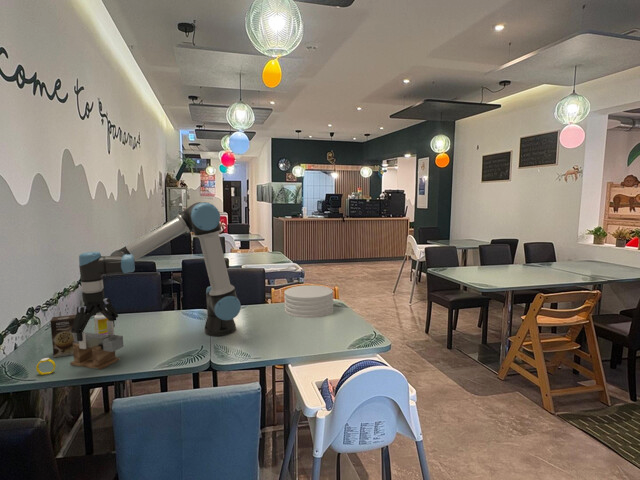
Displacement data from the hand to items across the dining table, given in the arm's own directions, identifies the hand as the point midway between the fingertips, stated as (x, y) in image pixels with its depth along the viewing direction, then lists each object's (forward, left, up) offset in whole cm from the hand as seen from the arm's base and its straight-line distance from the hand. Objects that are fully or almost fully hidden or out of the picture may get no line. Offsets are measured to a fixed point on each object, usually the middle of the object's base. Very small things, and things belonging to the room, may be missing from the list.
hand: (97, 342), depth 158 cm
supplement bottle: (+25, -26, -9) cm, 37 cm away
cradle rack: (+2, 0, -9) cm, 9 cm away
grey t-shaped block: (0, 0, -2) cm, 2 cm away
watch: (+12, +13, -9) cm, 20 cm away
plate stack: (-60, -90, -9) cm, 108 cm away
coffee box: (+22, -4, -9) cm, 24 cm away
